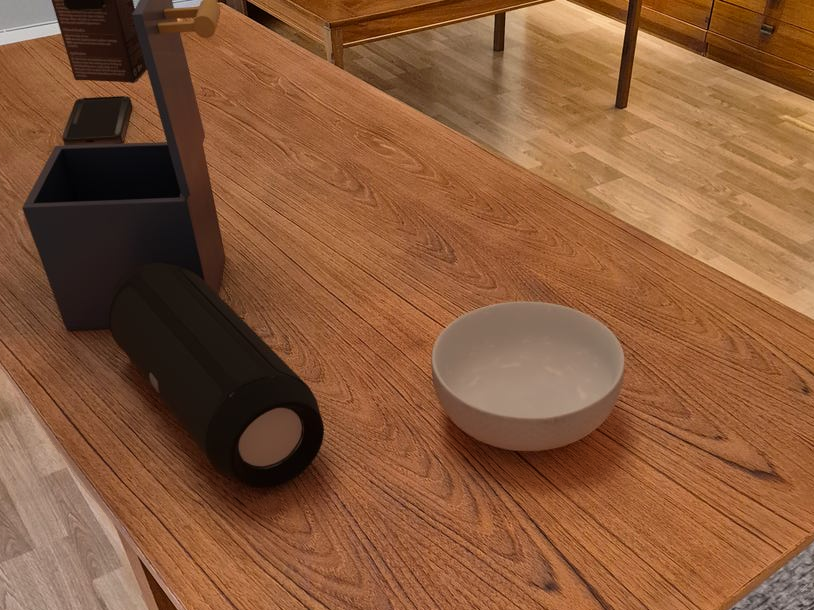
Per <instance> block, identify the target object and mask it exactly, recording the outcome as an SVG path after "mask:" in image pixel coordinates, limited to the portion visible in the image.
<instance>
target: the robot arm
mask: <svg viewBox="0 0 814 610" xmlns="http://www.w3.org/2000/svg"><path fill="white" fill-rule="evenodd" d="M63 1H64V5H65V7H66V8H67V9H69V10H81V9H101V8H102V7H103V0H63Z"/></svg>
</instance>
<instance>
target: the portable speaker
mask: <svg viewBox="0 0 814 610" xmlns="http://www.w3.org/2000/svg"><path fill="white" fill-rule="evenodd" d="M108 317H109V327H110V328H109V332H110V335H111V336H112V339H113V340H114V342H115V343H116V345H117V346H118V347H119V348H120V349H121V350H122V351H123V352H124V354H125V355H126V357H128V359H129V360H130V361H131V363H132V364H133V365H134V366H135V368H136V369H137V371H138V372H139V373H140V374H141V375H142V377H143V378H144V379H145V380H146V382H147V383H148V384H149V386H150V387H151V388H152V390H153V391H154V392H155V393H156V394H157V396H158V397H159V398H160V400H161V401H162V403H164V405H165V406H166V407H167V409H168V410H169V412H171V414H172V415H173V416H174V418H175V419H176V420H177V422H178V423H179V424H180V425H181V426H182V428H183V429H184V430H185V431H186V433H187V434H188V435H189V437H190V438H191V439H192V440H193V442H194V443H195V445H196V446H197V447H198V448H199V450H200V451H201V452H202V454H204V456H205V458H207V460H208V461H209V464H210V465H211V466H212V467H213V469H214V470H215V471H216V472H217V473H219V474H220V475H221V476H224V477H225V478H227V479H229V480H232V481H233V482H236V483H239V484H241V485H243V486H246V487H249V488H253V489H260V490H261V489H262V490H263V489H264V490H265V489H273V488H276V487H280V486H282V485H285V484H286V483H289V482H290V481H292V480H294V479H295V478H297V477H298V476H300V475H301V474H303V472H305V471H306V470H307V468H309V467H310V466H311V464H312V463H313V461H314V460H315V459H316V458H317V456H318V454H319V452H320V450H321V447H322V444H323V442H324V441H323V440H324V435H325V427H324V426H325V425H324V422H323V418H322V414H321V411H320V407H319V404H318V400H317V398H316V396H315V394H314V393H313V391H312V390H311V388H310V386H309V385H308V384H306V382H305V381H303V379H302V378H301V377H300V376H299V375H298V374H297V373H296V372H295V371H294V370H293V369H292V368H291V367H290V366H289V364H288V363H286V362H285V361H284V360H283V359H282V358H281V357H280V356H279V355H278V354H277V353H276V352H275V351H274V350H273V349H272V348H271V347H270V346H269V345H268V344H267V343H266V341H264V339H262V338H261V336H260V335H258V333H256V331H255V330H254V329H252V327H250V326H249V324H248V323H246V321H244V320H243V319H242V317H241V316H240V315H239V314H238V313H237V312H236V311H235V310H234V309H233V308H232V307H230V305H229V304H228V303H227V302H225V300H224V299H223V298H222V297H221V296H220V294H219V295H218V294H217V293H216V292H215V291H214V290H213V289H212V288H211V287H210V286H209V285H208V284H207V283H206V282H205V281H204V280H203V279H202V278H200V277H199V276H198V275H196V274H195V273H193V272H192V271H190V270H188V269H185V268H183V267H179V266H175V265H170V264H164V263H148V264H144V265H141V266H138V267H136V268H134V269H132V270H130V271H129V272H127V273H126V274H125V275H124V276H122V277H121V278H120V279H119V281H118V282H117V283H116V285H115V286H114V288H113V290H112V292H111V295H110V299H109V316H108Z"/></svg>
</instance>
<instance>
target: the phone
mask: <svg viewBox="0 0 814 610" xmlns="http://www.w3.org/2000/svg"><path fill="white" fill-rule="evenodd" d="M132 108H133V103H132V99H131V97H130V96H127V95H121V96H120V95H119V96H118V95H116V96H115V95H114V96H95V97H81V98H77V99H76V100H75V101H74V104H73V106H72V109H71V112H70V114H69V117H68V119H67V121H66V122H67V123H66V125H65V128H64V130H63V132H62V136H61V138H62V141H63V146H65V145H94V144H123V142H124V141H125V136H126V133H127V130H128V129H127V128H128V125H129V121H130V118H131V114H132Z"/></svg>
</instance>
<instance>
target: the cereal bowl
mask: <svg viewBox="0 0 814 610" xmlns="http://www.w3.org/2000/svg"><path fill="white" fill-rule="evenodd" d="M430 363H431V366H430V368H431V377H432V385H433V387H434V388H433V389H434V393H435V394H436V397H437V399H438V402H439V405H440V407H442V410H443V411H444V413H445V415H446V416H447V417H448V418H449V419H450V420H451V422H452V423H454V424H455V425H456V427H457V428H459V429H461V431H462V432H464V433H466V434H467V435H469V436H470V437H472V438H474V439H475V440H477V441H478V442H482V443H483V444H485V445H489V446H492V447H493V448H494V447H495V448H499V449H503V450H508V451H514V452H516V451H517V452H541V451H548V450H554V449H558V448H561V447H565V446H568V445H570V444H573V443H576V442H577V441H580V440H582V439H583V438H585V437H587V436H589V435H590V434H591V433H592V432H594V431H595V430H597V428H599V427H600V426H601V425H602V424H603V423H604V421H606V420H607V418H608V417H609V416H610V415H611V413H612V411H613V410H614V408H615V406H616V404H617V403H618V401H619V397H620V395H621V391H622V389H623V382H624V379H625V378H624V376H625V368H626V367H625V366H626V359H625V353H624V349H623V347H622V345H621V343H620V341H619V339H618V337H617V336H616V335H615V334H614V333H613V331H612V330H611V329H610V328H608V326H606V325H605V324H604V323H602V322H601V321H600V320H598V319H596V318H595V317H593V316H591V315H589V314H587V313H584V312H582V311H580V310H578V309H575V308H573V307H572V308H571V307H568V306H565V305H561V304H555V303H550V302H543V301H507V302H499V303H494V304H490V305H489V304H488V305H486V306H482V307H479V308H476V309H473V310H470V311H468V312H466V313H464V314H462V315H460V316H459V317H457V318H455V319H454V320H453V321H451V322H450V323H449V324H447V325H446V326H445V327H444V329H443V330H442V331H441V332H440V333H439V335H437V338H436V340H435V342H434V344H433V347H432V351H431V357H430Z"/></svg>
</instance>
